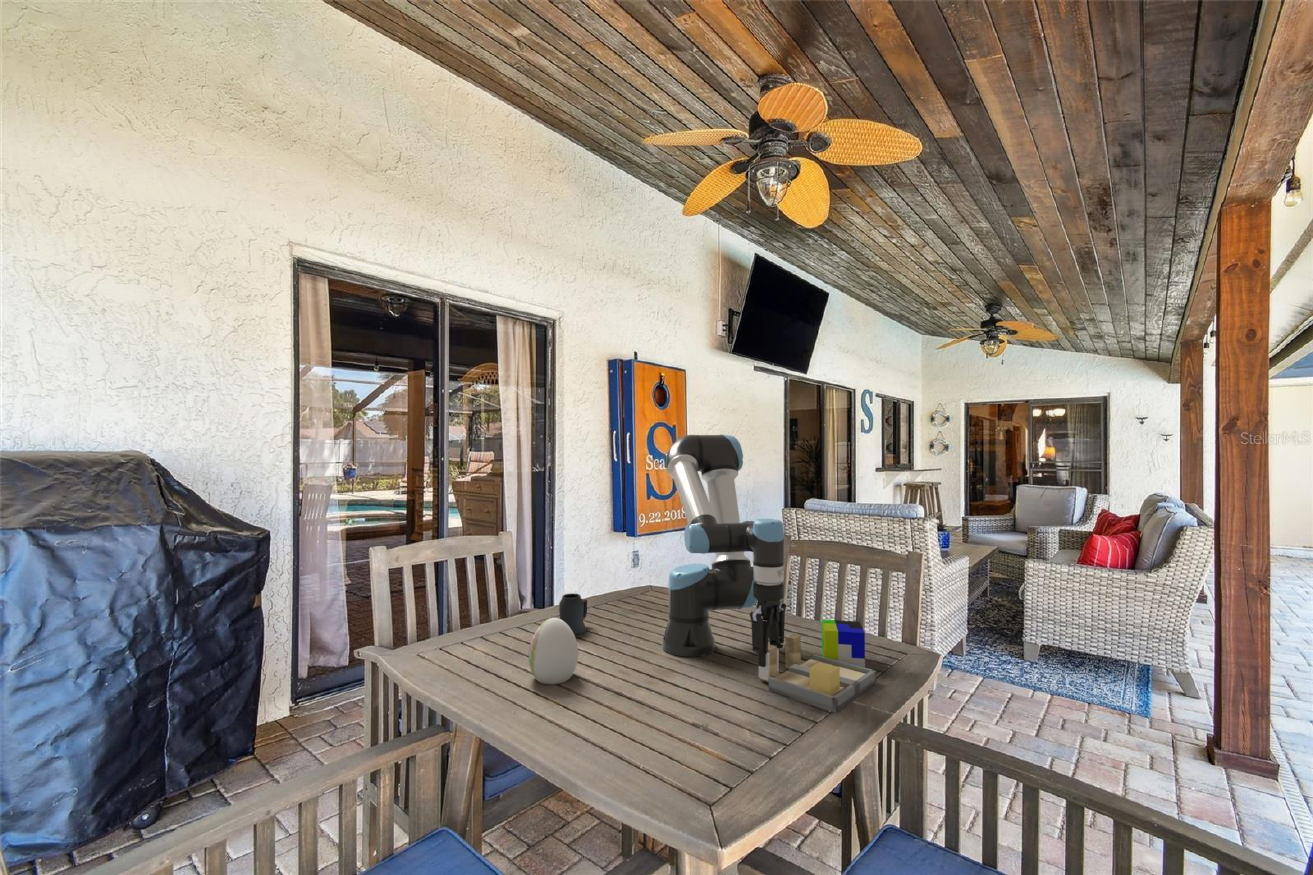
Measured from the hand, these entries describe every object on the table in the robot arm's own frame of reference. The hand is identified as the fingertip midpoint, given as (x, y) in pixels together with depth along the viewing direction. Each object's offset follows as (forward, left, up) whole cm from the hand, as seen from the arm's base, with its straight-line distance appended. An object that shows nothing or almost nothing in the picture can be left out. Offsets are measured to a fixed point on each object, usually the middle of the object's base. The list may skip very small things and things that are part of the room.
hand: (768, 676), depth 147 cm
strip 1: (+4, +11, -1) cm, 12 cm away
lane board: (+12, +6, -1) cm, 13 cm away
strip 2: (+8, 0, -1) cm, 8 cm away
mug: (-67, -7, -1) cm, 67 cm away
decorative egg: (-41, -35, -1) cm, 54 cm away
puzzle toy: (+8, +24, -1) cm, 25 cm away
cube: (+15, 0, +1) cm, 15 cm away
